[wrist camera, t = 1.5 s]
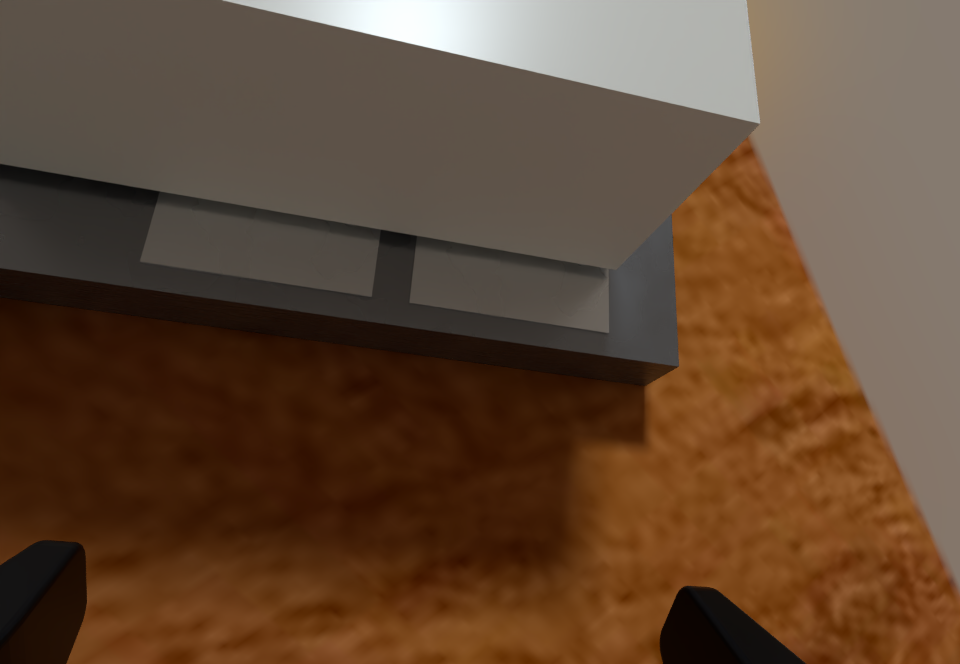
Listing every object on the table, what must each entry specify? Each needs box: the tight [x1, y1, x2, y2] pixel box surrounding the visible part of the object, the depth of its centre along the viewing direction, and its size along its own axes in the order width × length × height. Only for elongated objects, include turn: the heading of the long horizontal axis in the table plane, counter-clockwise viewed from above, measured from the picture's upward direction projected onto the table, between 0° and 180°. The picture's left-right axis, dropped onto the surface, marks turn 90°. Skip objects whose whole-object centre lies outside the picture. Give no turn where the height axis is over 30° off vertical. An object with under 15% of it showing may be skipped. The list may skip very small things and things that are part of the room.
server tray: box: [0, 164, 679, 386], centre depth 23 cm, size 10×25×3 cm, turn 86°
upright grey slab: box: [0, 0, 760, 270], centre depth 18 cm, size 22×4×8 cm, turn 86°
